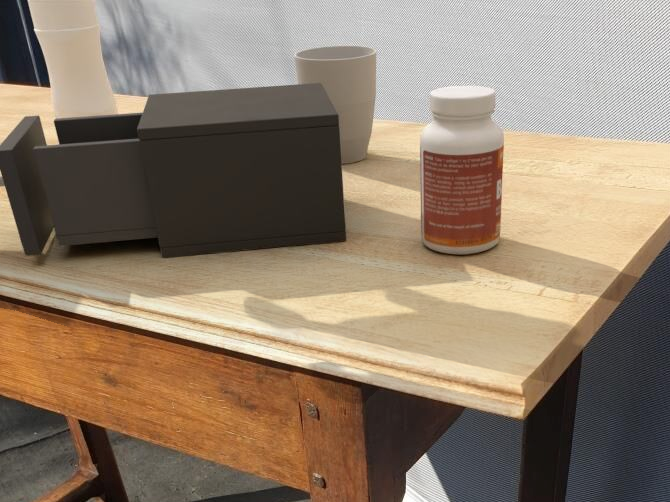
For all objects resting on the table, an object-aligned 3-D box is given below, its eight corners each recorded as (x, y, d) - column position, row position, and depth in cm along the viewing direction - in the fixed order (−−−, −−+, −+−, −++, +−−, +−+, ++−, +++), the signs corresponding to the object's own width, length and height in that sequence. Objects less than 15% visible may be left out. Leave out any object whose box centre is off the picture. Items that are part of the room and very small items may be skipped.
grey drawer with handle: (-49, 262, 63) (-85, 157, 59) (-15, 215, 72) (-44, 121, 68) (202, 240, 65) (185, 136, 61) (204, 197, 75) (189, 104, 70)
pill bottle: (512, 250, 64) (520, 95, 57) (436, 261, 62) (436, 103, 56) (482, 225, 69) (487, 79, 62) (411, 235, 67) (408, 87, 61)
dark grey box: (161, 258, 65) (136, 128, 60) (169, 208, 75) (148, 94, 70) (346, 241, 67) (338, 114, 61) (329, 195, 77) (321, 82, 71)
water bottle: (50, 136, 100) (-14, -118, 86) (105, 125, 104) (52, -120, 90) (76, 145, 96) (13, -121, 81) (132, 133, 99) (82, -123, 85)
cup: (394, 152, 88) (392, 48, 83) (350, 172, 83) (344, 61, 77) (333, 144, 92) (326, 44, 86) (287, 162, 87) (277, 56, 81)
